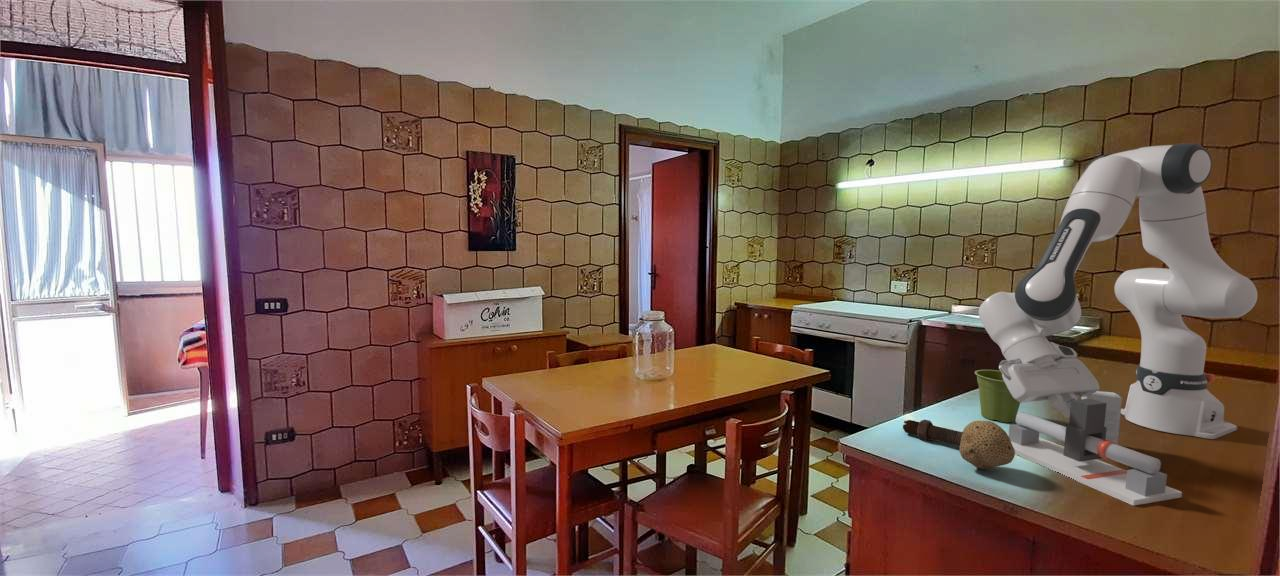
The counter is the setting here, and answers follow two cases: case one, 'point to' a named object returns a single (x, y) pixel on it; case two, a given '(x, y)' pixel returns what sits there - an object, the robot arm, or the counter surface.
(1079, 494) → the counter surface
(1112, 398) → the skincare box
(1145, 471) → the pipe stand
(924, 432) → the bolt
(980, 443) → the natural sponge
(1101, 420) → the collar
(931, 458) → the counter surface
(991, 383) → the plant pot
